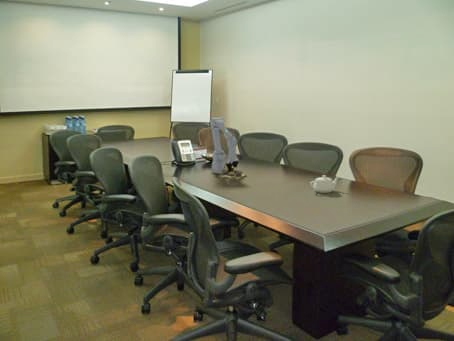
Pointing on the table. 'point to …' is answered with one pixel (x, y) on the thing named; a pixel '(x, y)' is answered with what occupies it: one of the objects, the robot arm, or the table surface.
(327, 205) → the table surface
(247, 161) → the table surface
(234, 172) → the coupler
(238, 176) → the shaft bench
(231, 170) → the robot arm
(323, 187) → the teapot
